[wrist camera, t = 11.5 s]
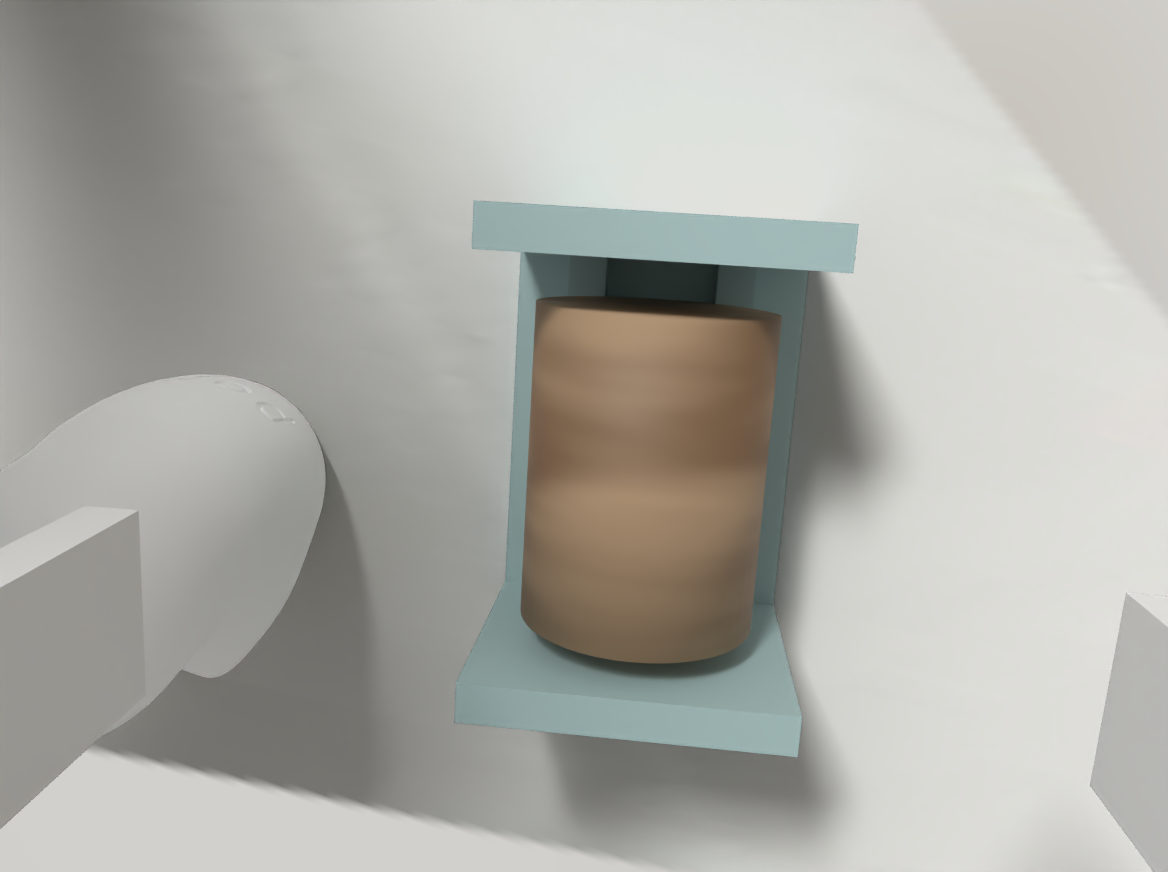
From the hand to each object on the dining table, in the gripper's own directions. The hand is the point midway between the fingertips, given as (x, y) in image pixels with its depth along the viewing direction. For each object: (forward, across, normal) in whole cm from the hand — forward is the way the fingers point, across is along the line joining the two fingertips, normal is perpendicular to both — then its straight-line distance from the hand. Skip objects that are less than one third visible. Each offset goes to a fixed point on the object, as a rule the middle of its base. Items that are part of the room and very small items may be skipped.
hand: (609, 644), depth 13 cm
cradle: (+17, 0, 0) cm, 17 cm away
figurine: (+17, -13, -3) cm, 22 cm away
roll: (+12, 0, -1) cm, 12 cm away
